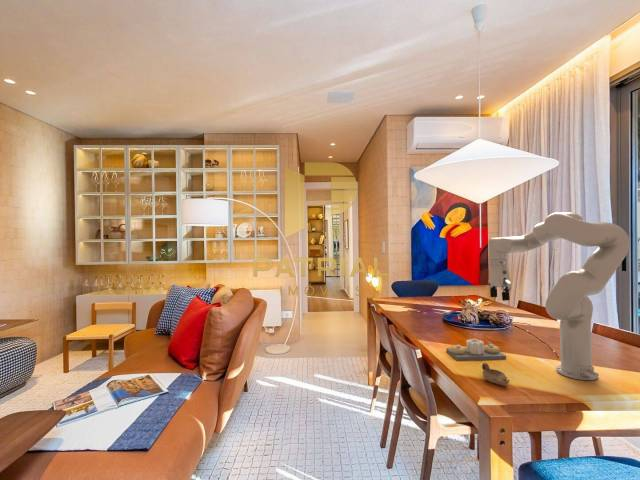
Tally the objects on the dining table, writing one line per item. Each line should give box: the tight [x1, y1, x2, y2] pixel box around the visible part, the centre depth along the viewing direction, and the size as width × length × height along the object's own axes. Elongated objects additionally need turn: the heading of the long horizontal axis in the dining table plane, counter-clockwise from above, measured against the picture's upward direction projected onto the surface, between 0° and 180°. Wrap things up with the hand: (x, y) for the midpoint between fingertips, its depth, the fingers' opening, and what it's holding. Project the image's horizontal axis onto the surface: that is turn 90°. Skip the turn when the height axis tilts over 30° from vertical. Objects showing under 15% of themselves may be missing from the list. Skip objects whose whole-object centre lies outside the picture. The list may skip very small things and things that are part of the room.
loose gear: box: [466, 338, 485, 354], centre depth 148 cm, size 7×7×5 cm
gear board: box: [446, 338, 507, 362], centre depth 148 cm, size 12×22×8 cm, turn 89°
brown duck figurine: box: [481, 362, 510, 387], centre depth 122 cm, size 13×8×5 cm, turn 4°
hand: (499, 298), depth 155 cm, fingers open, 9 cm apart
